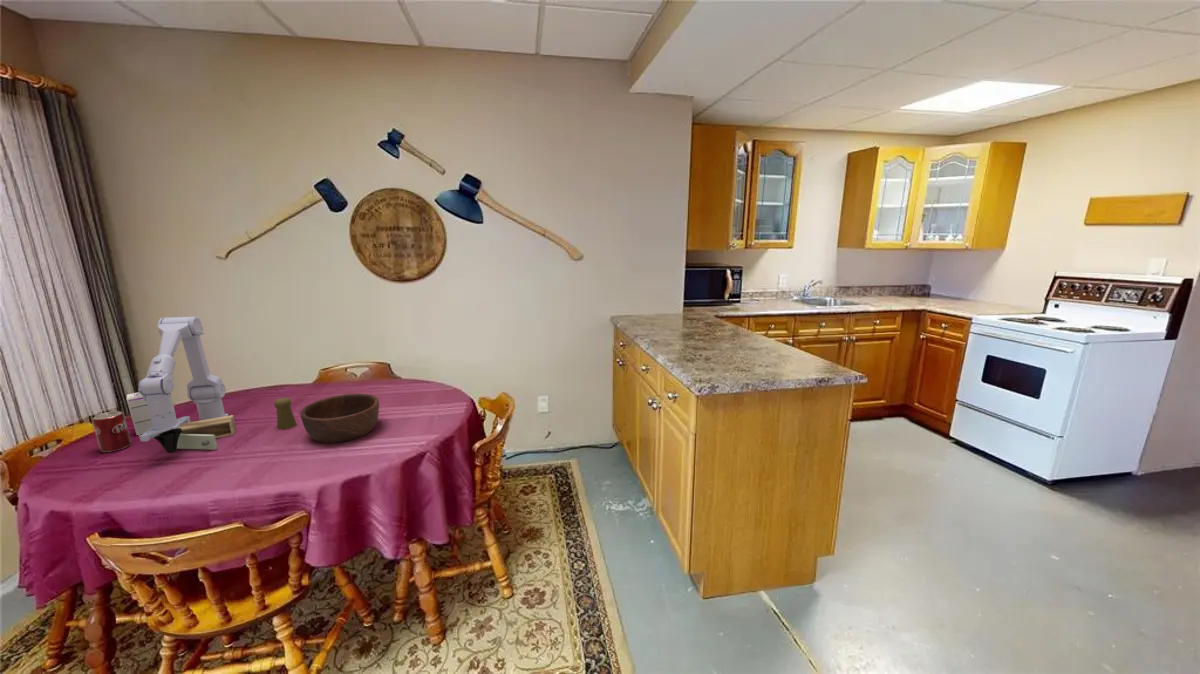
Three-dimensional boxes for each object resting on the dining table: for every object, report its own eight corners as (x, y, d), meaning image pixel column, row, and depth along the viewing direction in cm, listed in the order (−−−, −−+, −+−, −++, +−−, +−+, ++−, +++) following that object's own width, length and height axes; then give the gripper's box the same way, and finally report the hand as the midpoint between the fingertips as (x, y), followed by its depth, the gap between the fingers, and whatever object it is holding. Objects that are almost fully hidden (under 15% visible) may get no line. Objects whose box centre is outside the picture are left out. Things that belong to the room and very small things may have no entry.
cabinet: (170, 440, 157) (167, 425, 156) (235, 428, 167) (233, 415, 165) (166, 447, 152) (162, 432, 151) (233, 434, 162) (230, 420, 161)
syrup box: (158, 431, 164) (149, 394, 161) (135, 436, 160) (126, 398, 156) (157, 426, 168) (148, 390, 164) (135, 431, 164) (125, 394, 160)
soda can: (96, 455, 147) (86, 421, 144) (106, 445, 153) (98, 413, 150) (126, 450, 150) (117, 417, 147) (135, 441, 156) (127, 409, 153)
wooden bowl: (295, 431, 165) (291, 405, 163) (366, 412, 183) (363, 388, 181) (316, 454, 149) (312, 426, 146) (392, 431, 167) (389, 405, 164)
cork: (286, 430, 166) (281, 402, 163) (273, 428, 167) (267, 401, 164) (300, 423, 172) (295, 396, 169) (287, 422, 173) (282, 395, 170)
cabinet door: (167, 446, 152) (164, 433, 151) (217, 448, 151) (214, 434, 150) (161, 449, 150) (158, 436, 149) (211, 451, 149) (208, 437, 148)
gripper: (151, 422, 135) (161, 463, 138) (195, 404, 149) (203, 441, 153) (129, 422, 135) (139, 462, 139) (175, 403, 150) (183, 441, 153)
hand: (171, 451), depth 146 cm, fingers closed
